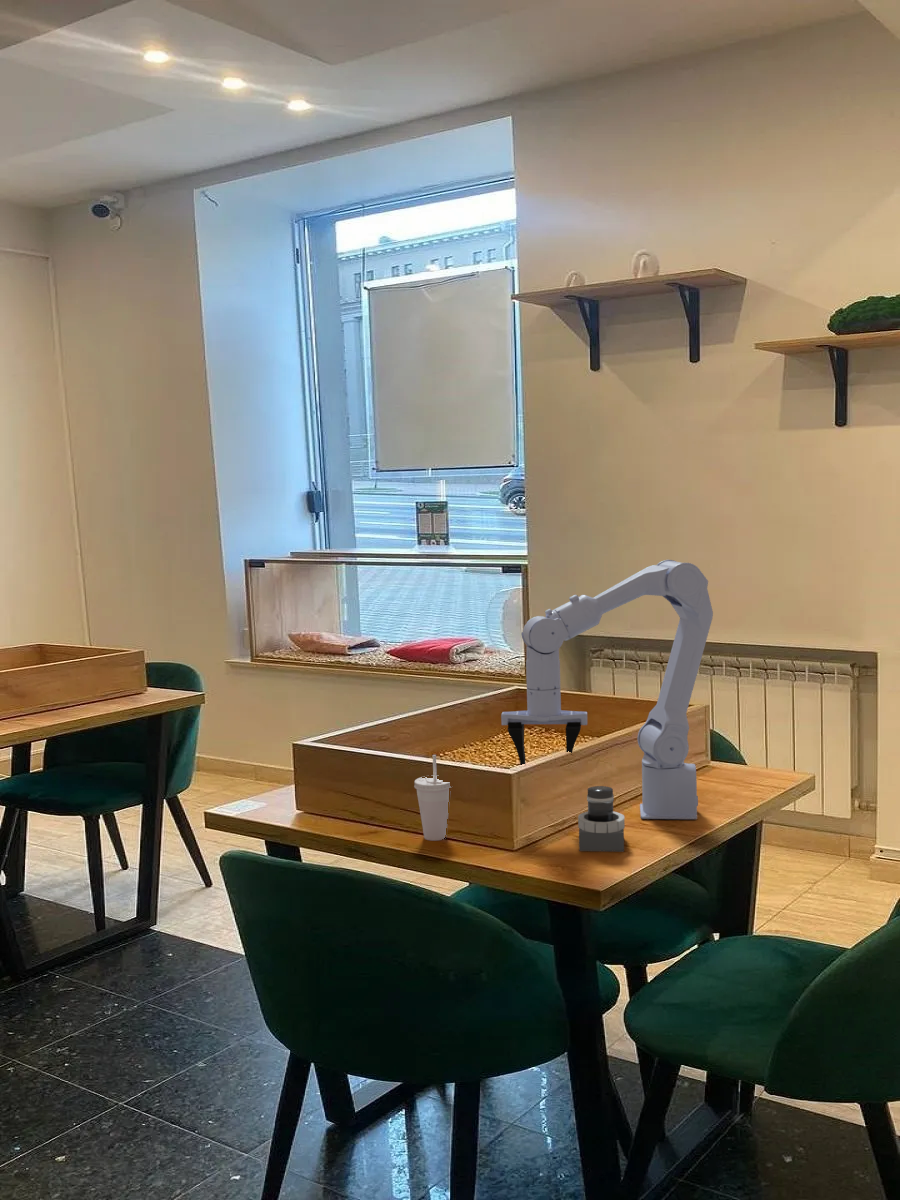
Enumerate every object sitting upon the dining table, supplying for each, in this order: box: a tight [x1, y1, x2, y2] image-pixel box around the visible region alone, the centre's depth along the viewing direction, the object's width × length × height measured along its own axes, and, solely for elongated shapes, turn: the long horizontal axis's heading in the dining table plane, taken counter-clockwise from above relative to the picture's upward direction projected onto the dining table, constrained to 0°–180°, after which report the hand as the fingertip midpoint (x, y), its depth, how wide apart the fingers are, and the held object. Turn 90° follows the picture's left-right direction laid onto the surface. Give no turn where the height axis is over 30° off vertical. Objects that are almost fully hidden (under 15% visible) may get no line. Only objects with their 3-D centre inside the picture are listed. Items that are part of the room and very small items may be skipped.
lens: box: [586, 785, 615, 822], centre depth 181 cm, size 4×4×6 cm
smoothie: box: [413, 754, 452, 842], centre depth 187 cm, size 6×6×14 cm
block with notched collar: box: [577, 811, 626, 853], centre depth 181 cm, size 7×7×4 cm
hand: (545, 765), depth 193 cm, fingers open, 7 cm apart
